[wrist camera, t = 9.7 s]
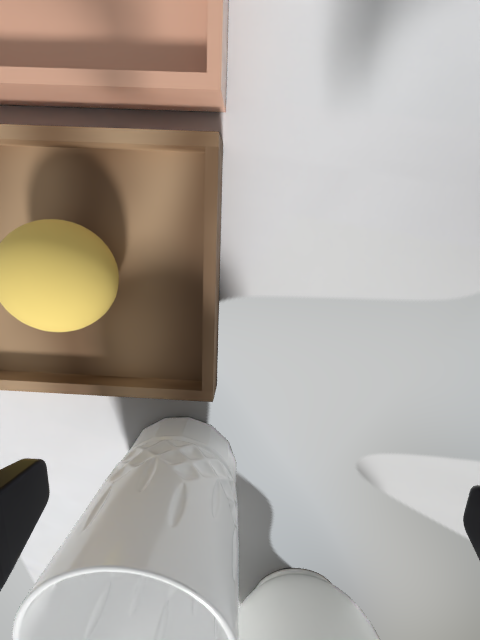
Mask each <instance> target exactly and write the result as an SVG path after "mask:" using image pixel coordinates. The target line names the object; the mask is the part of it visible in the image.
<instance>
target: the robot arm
mask: <svg viewBox="0 0 480 640" xmlns="http://www.w3.org/2000/svg"><path fill="white" fill-rule="evenodd" d="M48 499H49V483H48V475H47V467H46V463H45V461H43V460H41V459H28V458H27V459H22V460H19V461H17V462H15V463H13V464H11V465H9V466H7V467H5V468H3V469H1V470H0V591H1V589H2V587H3V585H4V584H5V582H6V581H7V579H8V577H9V575H10V573H11V572H12V570H13V568H14V566H15V564H16V562H17V560H18V558H19V556H20V554H21V552H22V551H23V549H24V547H25V545H26V543H27V541H28V539H29V537H30V535H31V533H32V531H33V529H34V527H35V525H36V524H37V522H38V520H39V518H40V516H41V514H42V512H43V510H44V508H45V506H46V504H47V502H48ZM463 522H464V527H465V530H466V533H467V535H468V537H469V539H470V541H471V543H472V545H473V547H474V549H475V551H476V554H477V556H478V558H479V560H480V486H479V485H477V486H473V487H472V488H471V490H470V493H469V497H468V501H467V505H466V509H465V513H464V517H463Z"/></svg>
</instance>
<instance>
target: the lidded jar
mask: <svg viewBox="0 0 480 640" xmlns="http://www.w3.org/2000/svg"><path fill="white" fill-rule="evenodd" d="M239 640H380V638H379V636H378V635H377V633H376V631H375V629H374V627H373V626H372V624H371V623H370V621H369V620H368V618H367V617H366V616H365V614H364V613H363V611H362V610H361V609H360V608H359V607H358V606H357V604H356V603H355V602H354V601H353V600H352V599H351V598H350V597H349V596H348V595H346V594H345V593H344V592H343V591H341V590H340V589H339V588H337V587H336V586H334V585H332V584H331V582H330V581H329V580H328V579H326V578H325V577H324V576H322V575H320V574H319V573H316V572H314V571H311V570H307V569H301V568H289V569H283V570H279V571H276V572H273V573H271V574H269V575H268V576H266V577H265V578H264V579H262V580H261V581H260V582H259V583H258V585H257V586H256V588H255V590H253V591H252V592H251V593H250V594H249V595H248V596H247V598H246V599H245V600H244V601H243V602H242V604H241V605H240V607H239Z"/></svg>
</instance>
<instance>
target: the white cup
mask: <svg viewBox="0 0 480 640" xmlns="http://www.w3.org/2000/svg"><path fill="white" fill-rule="evenodd" d="M12 640H239V532H238V502H237V494H236V460H235V458H234V455H233V452H232V449H231V447H230V444H229V442H228V440H226V439H225V438H224V437H223V436H222V435H221V434H220V433H219V432H218V431H217V430H216V429H215V428H214V427H213V426H212V425H209V424H206V423H204V422H201V421H198V420H196V419H193V418H190V417H180V418H164V419H162V420H160V421H158V422H156V423H154V424H152V425H151V426H149V427H147V428H145V429H144V430H143V431H142V432H141V434H140V435H139V437H138V438H137V440H136V441H135V442H134V444H133V445H132V447H131V448H130V450H129V451H128V453H127V454H126V455H125V457H124V458H123V459H122V460H121V461H120V462H119V463H118V464H117V465H116V466H115V468H114V469H113V471H112V473H111V474H110V475H109V476H108V478H107V479H106V480H105V481H104V483H103V484H102V486H101V487H100V489H99V490H98V492H97V493H96V495H95V496H94V498H93V499H92V501H91V502H90V504H89V505H88V507H87V508H86V510H85V511H84V513H83V514H82V516H81V517H80V518H79V520H78V521H77V523H76V524H75V525H74V527H73V528H72V530H71V531H70V533H69V534H68V536H67V537H66V539H65V540H64V542H63V543H62V545H61V546H60V548H59V549H58V551H57V552H56V554H55V555H54V557H53V558H52V560H51V561H50V563H49V564H48V565H47V567H46V568H45V570H44V571H43V573H42V574H41V576H40V577H39V579H38V580H37V582H36V583H35V585H34V586H33V588H32V589H31V591H30V592H29V593H28V595H27V596H26V598H25V599H24V601H23V602H22V604H21V606H20V607H19V609H18V611H17V614H16V616H15V619H14V623H13V628H12Z"/></svg>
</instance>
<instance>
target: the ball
mask: <svg viewBox="0 0 480 640" xmlns="http://www.w3.org/2000/svg"><path fill="white" fill-rule="evenodd" d="M118 285H119V272H118V267H117V263H116V261H115V258H114V256H113V254H112V252H111V251H110V249H109V248H108V246H107V245H106V244H105V243H104V242H103V241H102V239H100V238H99V237H98V236H97V235H96V234H94V233H93V232H92V231H90V230H88V229H87V228H85V227H83V226H81V225H78V224H76V223H73V222H69V221H65V220H58V219H43V220H37V221H33V222H30V223H26V224H24V225H22V226H20V227H18V228H16V229H15V230H13V231H12V232H10V233H9V234H8V235H7V236H6V237H5V238H4V239H3V240H2V242H1V243H0V303H1V304H2V305H3V307H4V308H5V309H6V310H7V311H8V312H9V313H10V314H11V315H12V316H14V317H15V318H16V319H18V320H19V321H21V322H22V323H24V324H26V325H28V326H31V327H33V328H36V329H39V330H43V331H49V332H68V331H74V330H78V329H82V328H84V327H86V326H88V325H91V324H92V323H94V322H96V321H97V320H98V319H100V318H101V317H102V316H103V315H104V314H105V313H106V312H107V311H108V310H109V308H110V307H111V305H112V304H113V302H114V300H115V298H116V295H117V291H118Z"/></svg>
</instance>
